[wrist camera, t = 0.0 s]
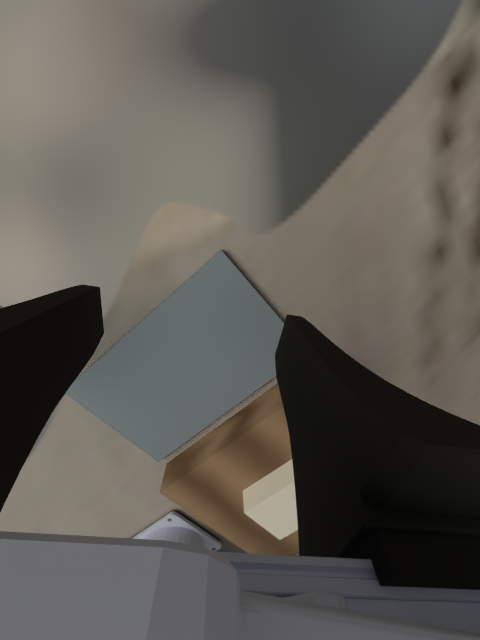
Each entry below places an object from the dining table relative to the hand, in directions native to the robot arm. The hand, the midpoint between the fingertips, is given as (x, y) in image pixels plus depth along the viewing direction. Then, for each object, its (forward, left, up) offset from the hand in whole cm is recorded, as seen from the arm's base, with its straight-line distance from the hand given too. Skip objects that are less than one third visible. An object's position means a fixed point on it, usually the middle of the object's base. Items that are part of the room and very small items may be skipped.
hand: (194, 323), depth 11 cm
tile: (-7, -19, -8) cm, 22 cm away
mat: (-7, -5, -11) cm, 14 cm away
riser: (-7, -19, -11) cm, 23 cm away
